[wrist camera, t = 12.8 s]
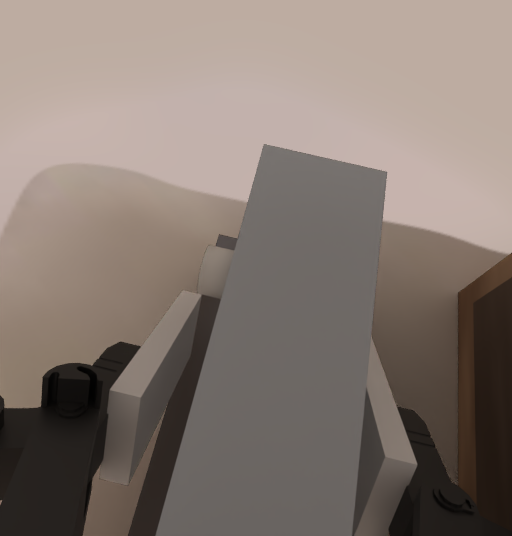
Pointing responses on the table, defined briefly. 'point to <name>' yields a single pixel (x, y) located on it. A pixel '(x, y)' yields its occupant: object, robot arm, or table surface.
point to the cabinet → (469, 401)
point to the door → (284, 358)
